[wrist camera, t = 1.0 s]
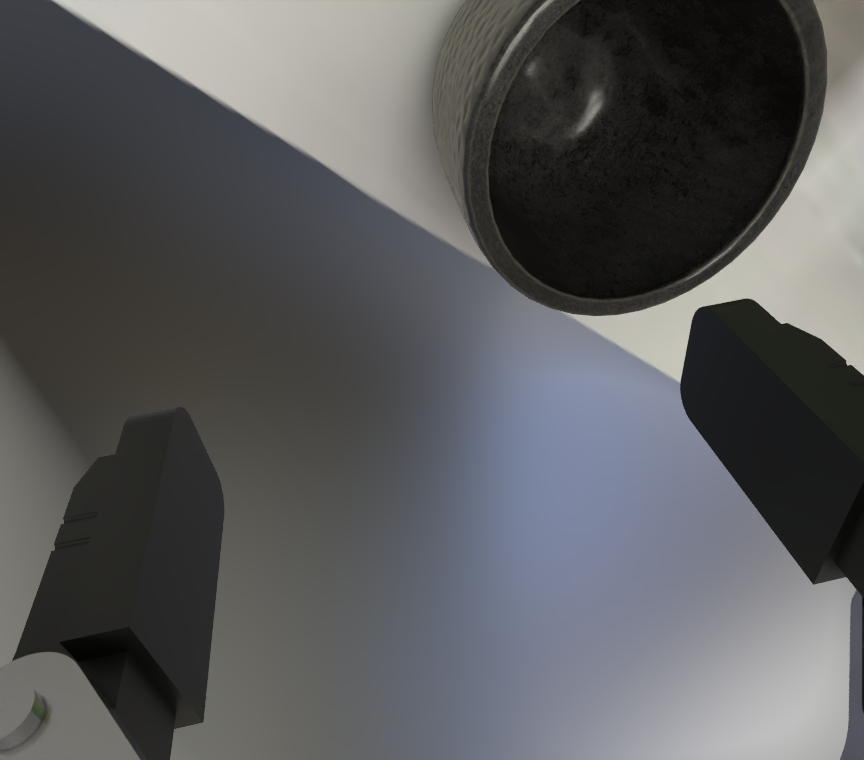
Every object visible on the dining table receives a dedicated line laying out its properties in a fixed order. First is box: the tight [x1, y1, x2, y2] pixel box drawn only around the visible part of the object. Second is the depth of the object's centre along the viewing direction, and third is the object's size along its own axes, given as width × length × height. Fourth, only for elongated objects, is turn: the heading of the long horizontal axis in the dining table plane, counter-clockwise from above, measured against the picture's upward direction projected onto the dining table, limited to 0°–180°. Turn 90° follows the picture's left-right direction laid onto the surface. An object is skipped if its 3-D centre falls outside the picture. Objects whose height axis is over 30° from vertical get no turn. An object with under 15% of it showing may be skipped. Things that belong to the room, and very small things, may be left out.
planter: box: [432, 0, 827, 316], centre depth 28 cm, size 14×14×13 cm
